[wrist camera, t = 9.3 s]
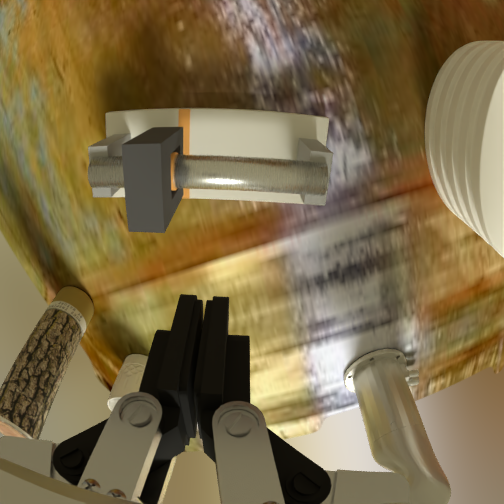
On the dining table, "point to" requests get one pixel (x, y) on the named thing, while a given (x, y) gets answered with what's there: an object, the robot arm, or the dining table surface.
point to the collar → (151, 178)
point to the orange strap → (185, 123)
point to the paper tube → (43, 364)
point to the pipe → (225, 174)
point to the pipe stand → (227, 142)
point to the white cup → (128, 378)
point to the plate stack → (470, 137)
